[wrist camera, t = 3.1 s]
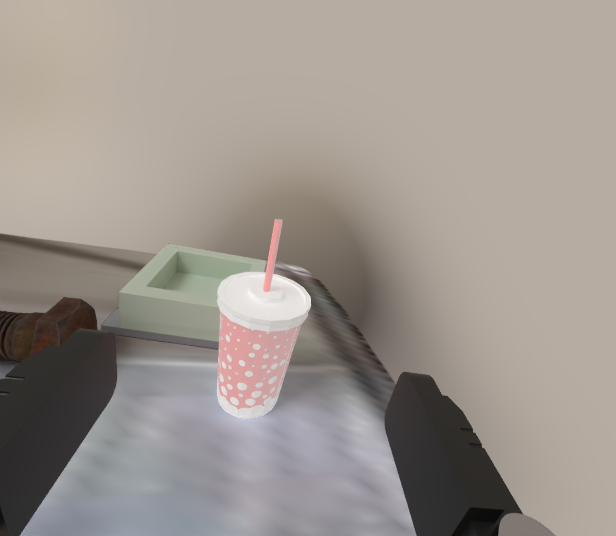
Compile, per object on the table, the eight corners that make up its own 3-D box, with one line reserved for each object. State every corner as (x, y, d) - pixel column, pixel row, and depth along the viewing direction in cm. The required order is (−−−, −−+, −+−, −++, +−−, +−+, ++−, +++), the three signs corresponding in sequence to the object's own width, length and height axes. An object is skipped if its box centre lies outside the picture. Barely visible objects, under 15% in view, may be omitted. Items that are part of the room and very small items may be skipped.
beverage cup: (245, 354, 28) (270, 200, 23) (302, 392, 26) (346, 229, 20) (188, 394, 23) (202, 209, 18) (251, 445, 21) (291, 248, 15)
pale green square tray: (101, 332, 27) (98, 288, 25) (163, 264, 40) (164, 232, 38) (265, 355, 29) (273, 316, 27) (274, 283, 41) (280, 253, 40)
